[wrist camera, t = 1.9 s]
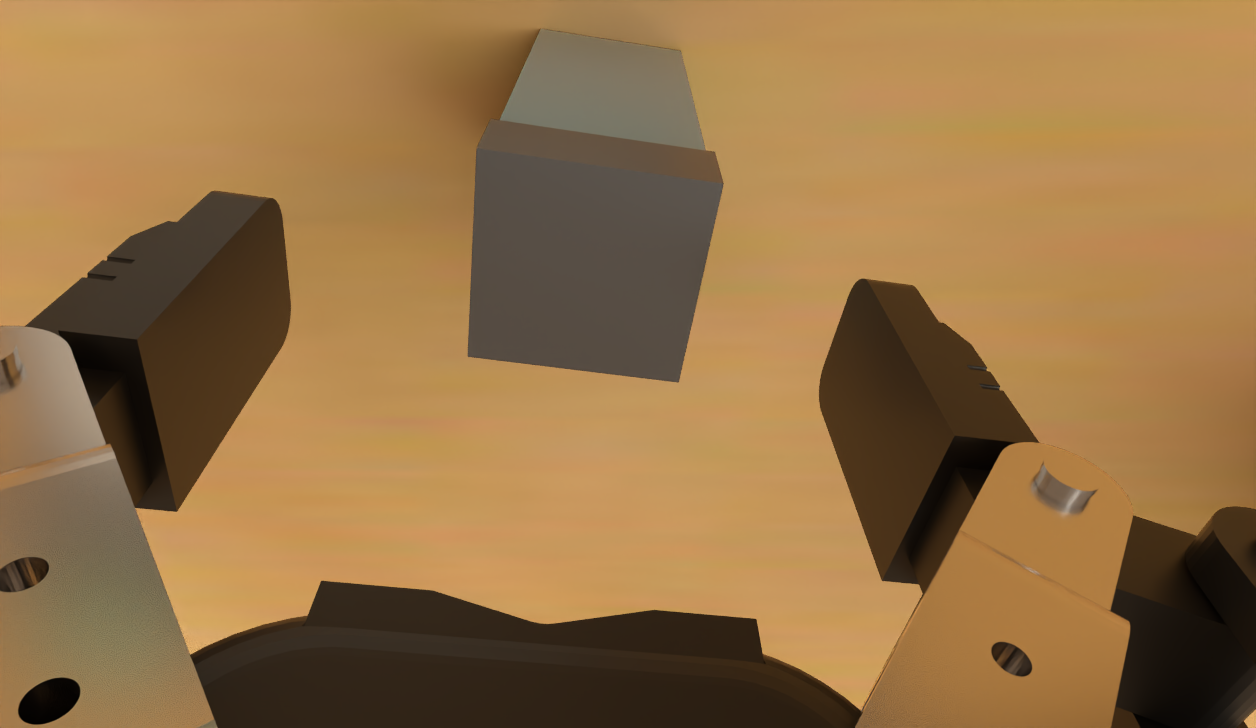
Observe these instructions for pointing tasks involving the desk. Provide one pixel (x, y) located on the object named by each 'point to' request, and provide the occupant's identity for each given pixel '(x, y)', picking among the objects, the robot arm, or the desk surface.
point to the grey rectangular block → (592, 212)
